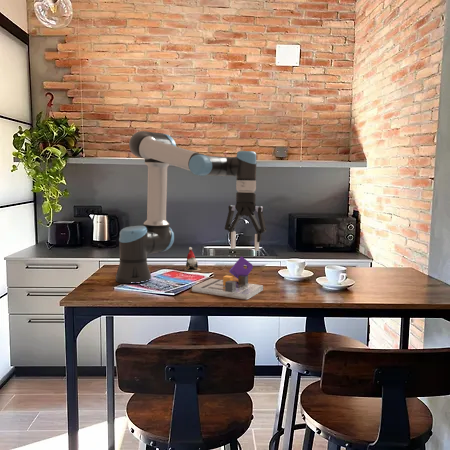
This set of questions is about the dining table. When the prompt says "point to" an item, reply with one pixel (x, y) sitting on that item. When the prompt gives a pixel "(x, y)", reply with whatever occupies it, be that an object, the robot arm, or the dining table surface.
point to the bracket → (241, 267)
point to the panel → (225, 293)
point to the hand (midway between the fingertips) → (244, 249)
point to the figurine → (192, 261)
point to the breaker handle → (227, 279)
